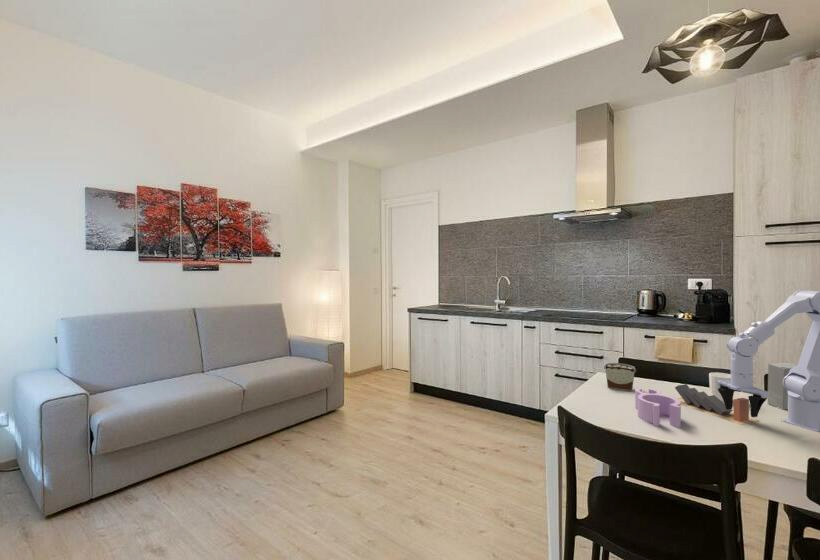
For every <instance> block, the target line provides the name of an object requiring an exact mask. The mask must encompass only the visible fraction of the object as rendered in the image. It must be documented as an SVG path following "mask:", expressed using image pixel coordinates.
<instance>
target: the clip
mask: <svg viewBox="0 0 820 560" xmlns="http://www.w3.org/2000/svg"><path fill="white" fill-rule="evenodd" d="M634 393H635V395H634V398H635V399H634V401H635V403H634V406H635V407H634V408H635V409H636V410H637V417H638V418H639V420H641V419H642V420H641V421H643V420H644V422H646V421H647V422H646V423H649V422H650V423H649V424H652V423H653V424H652V426H653V425H655V426H654V427H659V426H660V424H661V423H660V422H661V421H660V420H661V419H660V418H661V414H662V415H664V416H668V417H669V425H670V426H672V427H675V428H678V429H679V428H681V427H682V425H681V424H682V421H681V419H682V417H681V416H682V411H681V410H682V409H681V407H682V406H681V405H680V401H679V400H677V399H678V398H675V397H672V396H670V395H665V394H663V393H662V392H661V391H660V390H658V389H654V388H648V392H647V393H646V392H643V389H642V388H641V387H637V388H635V391H634Z"/></svg>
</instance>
